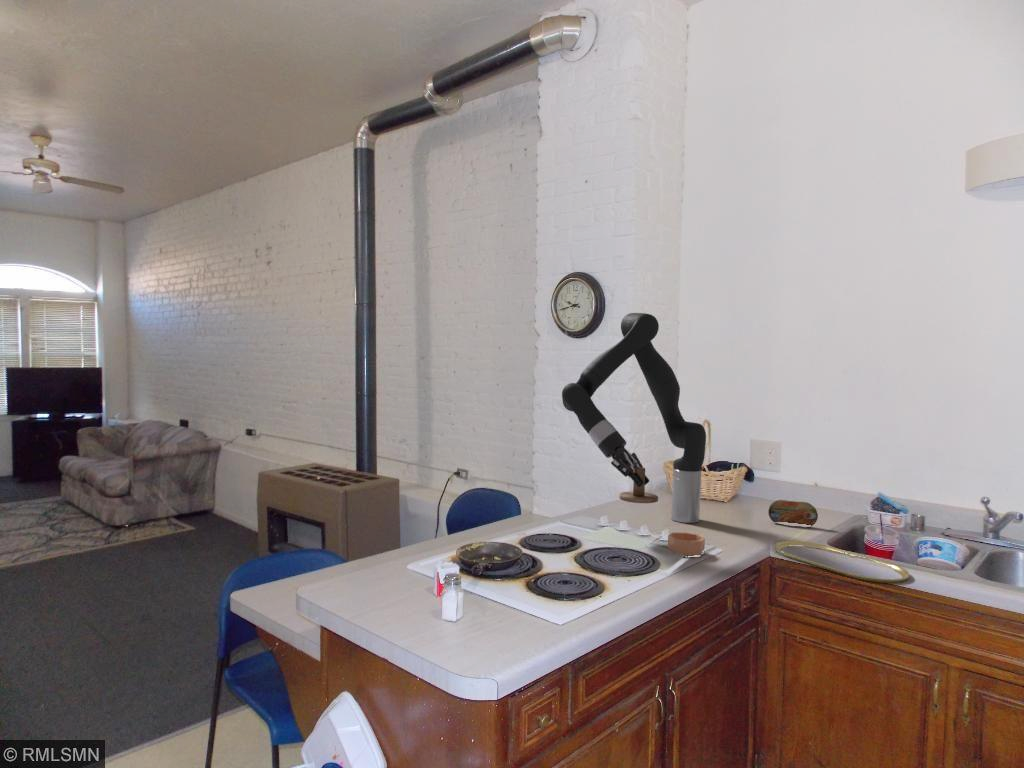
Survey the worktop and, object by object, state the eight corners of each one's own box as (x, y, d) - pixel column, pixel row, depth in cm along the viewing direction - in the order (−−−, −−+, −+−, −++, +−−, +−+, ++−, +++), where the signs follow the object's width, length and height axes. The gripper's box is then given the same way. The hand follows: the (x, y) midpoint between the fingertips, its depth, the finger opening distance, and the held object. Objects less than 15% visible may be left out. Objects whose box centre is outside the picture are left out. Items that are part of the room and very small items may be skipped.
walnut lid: (628, 493, 192) (629, 463, 192) (663, 498, 186) (664, 467, 186) (613, 499, 183) (614, 468, 183) (649, 505, 177) (651, 473, 177)
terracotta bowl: (674, 546, 183) (675, 530, 183) (707, 552, 178) (707, 536, 178) (664, 553, 176) (664, 537, 175) (697, 560, 171) (698, 543, 171)
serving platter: (883, 590, 153) (883, 583, 153) (760, 550, 183) (760, 545, 183) (924, 578, 163) (924, 572, 163) (800, 543, 193) (800, 538, 193)
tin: (767, 523, 215) (769, 499, 214) (767, 521, 218) (769, 497, 217) (817, 529, 209) (818, 504, 209) (816, 527, 212) (817, 502, 212)
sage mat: (606, 529, 200) (606, 526, 200) (661, 539, 190) (662, 536, 190) (580, 541, 184) (580, 538, 184) (639, 553, 175) (639, 550, 175)
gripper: (605, 432, 182) (644, 479, 176) (625, 428, 194) (662, 473, 188) (588, 448, 185) (626, 496, 179) (608, 444, 197) (644, 488, 191)
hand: (644, 484), depth 184 cm, fingers closed on walnut lid, 3 cm apart
